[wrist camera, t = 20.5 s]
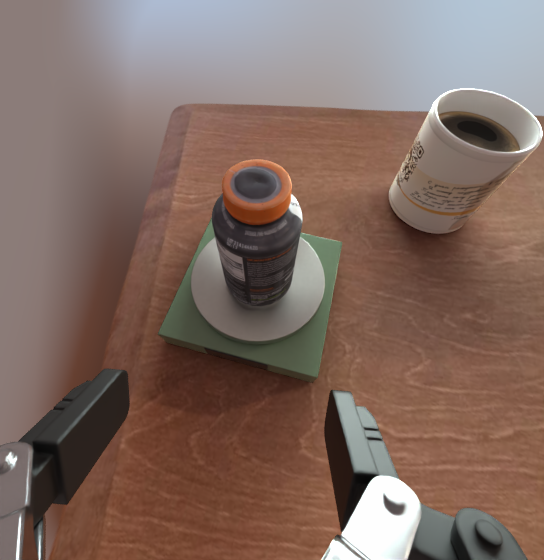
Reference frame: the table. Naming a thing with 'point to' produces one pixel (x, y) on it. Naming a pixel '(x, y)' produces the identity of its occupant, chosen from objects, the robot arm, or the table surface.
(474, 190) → the mug
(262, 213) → the pill bottle
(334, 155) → the table surface
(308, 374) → the scale
